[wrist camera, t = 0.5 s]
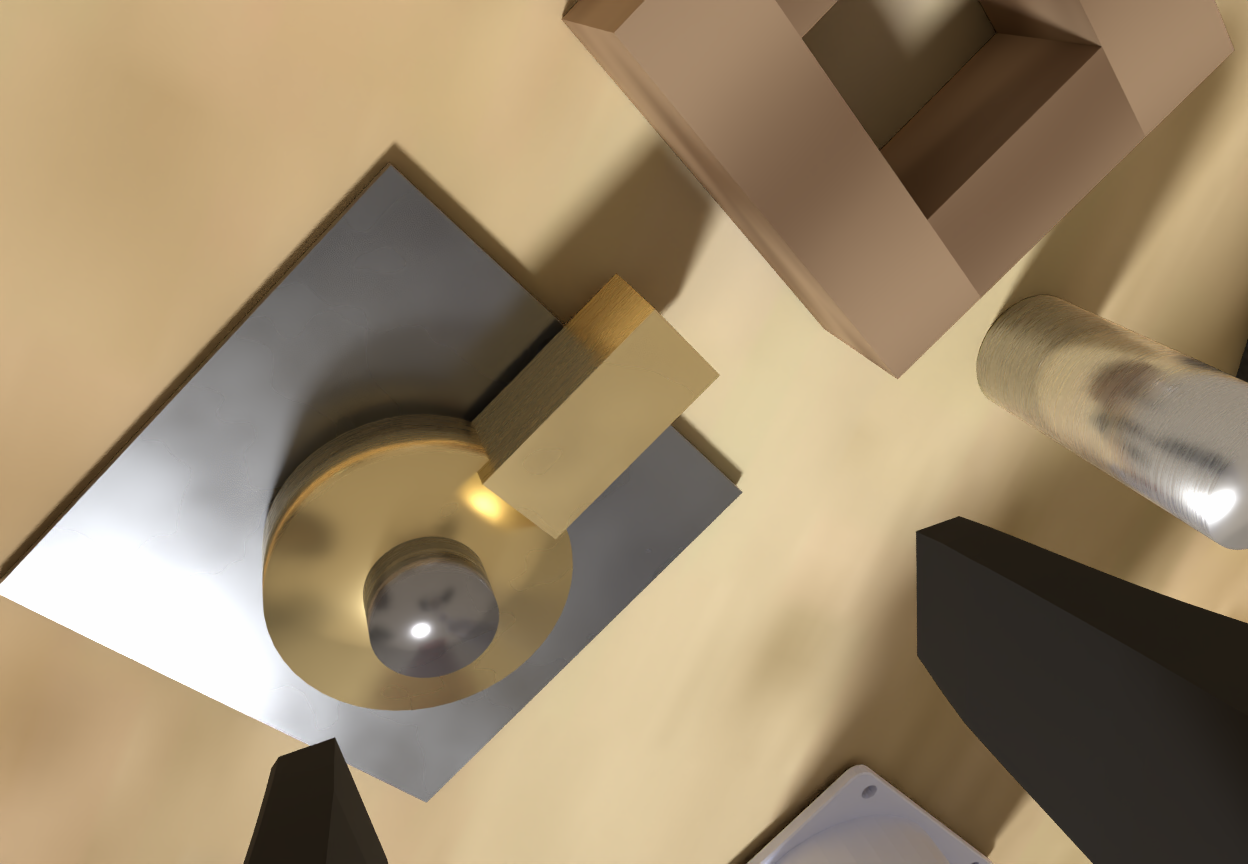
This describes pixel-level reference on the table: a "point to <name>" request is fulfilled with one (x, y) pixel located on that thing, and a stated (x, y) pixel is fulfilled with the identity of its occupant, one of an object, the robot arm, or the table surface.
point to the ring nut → (465, 515)
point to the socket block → (901, 142)
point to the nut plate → (296, 427)
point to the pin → (1127, 409)
